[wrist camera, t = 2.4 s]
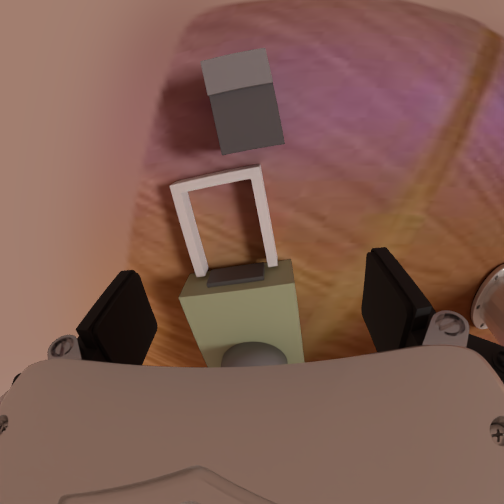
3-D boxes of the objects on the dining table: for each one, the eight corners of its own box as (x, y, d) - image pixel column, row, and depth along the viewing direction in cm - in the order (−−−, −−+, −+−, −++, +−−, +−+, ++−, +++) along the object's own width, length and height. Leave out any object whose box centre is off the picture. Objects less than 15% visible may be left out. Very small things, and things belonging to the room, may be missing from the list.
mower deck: (274, 161, 27) (277, 177, 19) (304, 365, 39) (309, 414, 31) (163, 184, 28) (124, 210, 20) (226, 372, 40) (218, 420, 32)
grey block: (265, 65, 23) (265, 47, 17) (281, 140, 26) (285, 144, 20) (215, 75, 23) (200, 61, 17) (231, 149, 27) (220, 156, 21)
